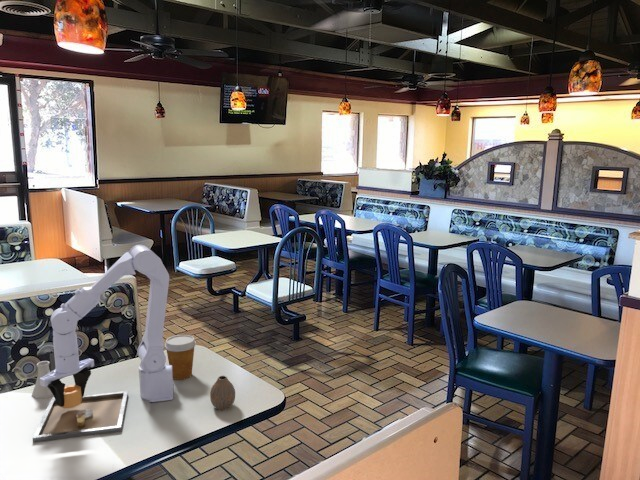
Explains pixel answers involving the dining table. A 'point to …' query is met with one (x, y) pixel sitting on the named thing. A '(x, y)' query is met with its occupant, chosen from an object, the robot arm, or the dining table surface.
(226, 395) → the vase
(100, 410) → the carrier plate
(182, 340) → the disposable coffee cup
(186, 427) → the dining table surface
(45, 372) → the flask
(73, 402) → the gear
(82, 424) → the carrier pin
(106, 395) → the square tray
